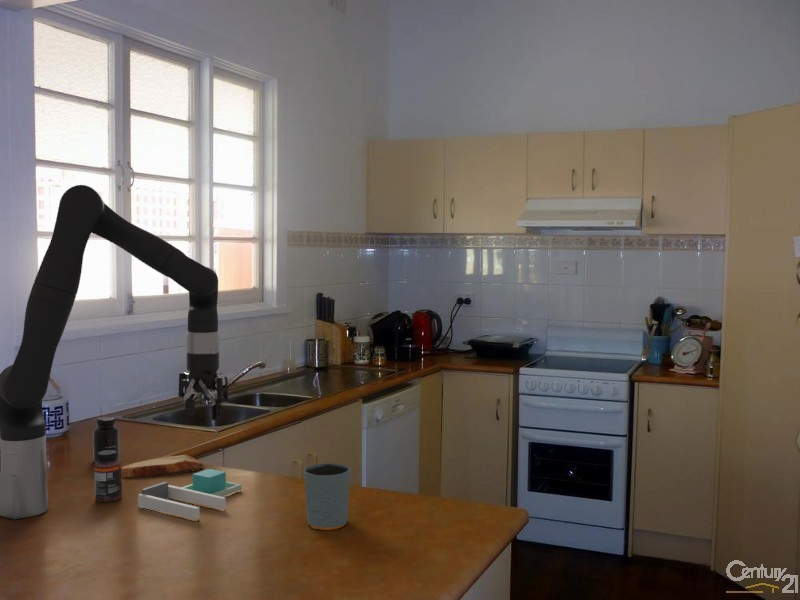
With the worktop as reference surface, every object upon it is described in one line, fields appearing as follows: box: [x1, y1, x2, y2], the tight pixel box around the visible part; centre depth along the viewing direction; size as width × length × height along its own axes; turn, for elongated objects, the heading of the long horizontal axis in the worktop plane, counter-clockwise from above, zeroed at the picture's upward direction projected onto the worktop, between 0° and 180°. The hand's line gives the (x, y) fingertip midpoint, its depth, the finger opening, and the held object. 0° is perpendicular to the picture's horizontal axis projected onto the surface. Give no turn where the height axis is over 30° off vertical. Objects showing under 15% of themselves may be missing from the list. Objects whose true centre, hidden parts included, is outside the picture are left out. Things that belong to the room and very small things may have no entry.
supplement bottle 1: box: [92, 416, 120, 463], centre depth 220 cm, size 7×7×12 cm
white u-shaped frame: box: [137, 481, 227, 519], centre depth 179 cm, size 9×18×4 cm, turn 58°
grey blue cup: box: [303, 462, 352, 528], centre depth 170 cm, size 10×10×12 cm
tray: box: [181, 480, 243, 497], centre depth 190 cm, size 11×11×2 cm
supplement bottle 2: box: [93, 450, 123, 503], centre depth 186 cm, size 6×6×11 cm
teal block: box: [192, 468, 227, 494], centre depth 190 cm, size 6×6×4 cm
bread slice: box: [121, 454, 205, 479], centre depth 210 cm, size 18×18×4 cm
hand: (203, 417), depth 189 cm, fingers open, 8 cm apart
